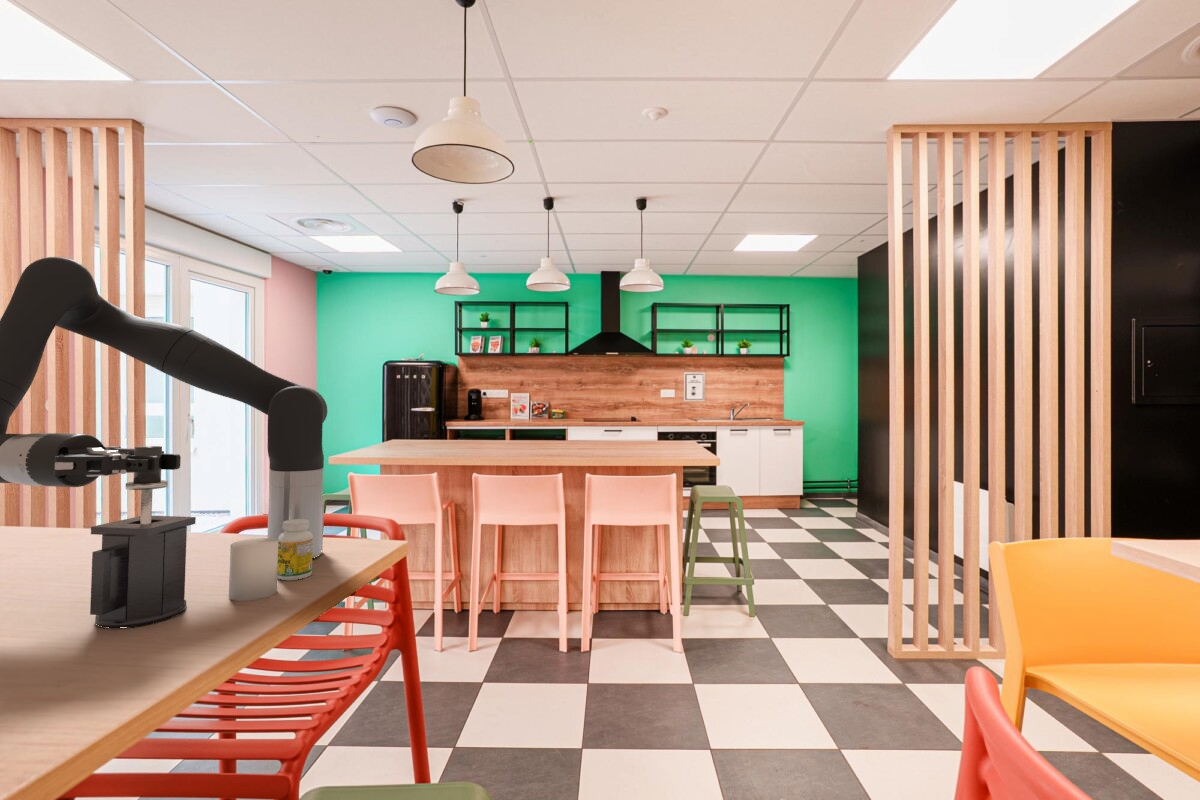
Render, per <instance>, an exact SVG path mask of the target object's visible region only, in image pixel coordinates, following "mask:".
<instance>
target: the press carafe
mask: <svg viewBox="0 0 1200 800" xmlns="http://www.w3.org/2000/svg"><path fill="white" fill-rule="evenodd" d="M140 518H141V515H139V516H133V517H129V518H125V519H121V520H115V521H112V522H111V521H110V522H105V523H103V524H98V525H93V526H90V535H101V549H98V550H95V551H92V554H91V555H92V559H91V578H90V579H91V580H90V581H91V583H90V607H89V612H90V613H89V615H90V616H95V617H94V619H95V620H94V621H95V623H96V624H97V625H99V626H102V627H109V628H120V627H132V628H136V627H135V626H139V627H143V626H148V624H149V625H153V623H154V624H157V623H158V624H159V623H160V622H164V621H167V620H171V619H173V618H175V617H177V616H179V615H181V614H183V613H184V612H185V611H186V609H187V600H186V599H185V594H186V589H185V588H186V563H187V538H188V535H187V534H188V533H187V532H188V526H193V525H196V520H197V518H196V516H180V515H178V516H176V515H175V516H172V515H152V518H151V523H150V524H140Z"/></svg>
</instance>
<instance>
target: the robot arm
mask: <svg viewBox="0 0 1200 800" xmlns="http://www.w3.org/2000/svg"><path fill="white" fill-rule="evenodd" d="M56 327H58V328H62V329H64V330H67V331H69V332H72V333H75V334H78V335H80V336H83V337H85V338H88V339H91V340H92V341H93V340H94V341H96V342H99V343H101V344H104V345H107V346H109V347H111V348H113V349H115V350H117V351H119V352H121V353H123V354H125V355H127V356H129V357H130V358H133V359H134V360H137V361H139V362H141V363H144V364H145V365H147V366H150V367H152V368H153V369H155V370H158V371H160V372H161V373H164V374H166V375H168V376H170V377H172V378H174V379H175V380H178V381H180V382H182V383H185V384H186V385H187V384H188V385H190V386H192V387H195V388H197V389H201V390H203V391H206V392H210V393H212V394H215V395H219V396H221V397H225V398H228V399H231V400H235V401H237V402H238V401H239V402H241V403H243V404H245V405H248V406H250V407H252V408H254V409H256V410H257V411H259V412H261V413H263V414H265V415H267V456H268V459H269V476H268V508H267V509H268V511H267V512H268V513H267V536H266V538H274V539H277V540H278V537H279V536H280V535H281V534H282V533H284V530H283V529H282V526H283V522H284V521H287V520H293V519H307V520H309V527H308V529H307V531H309V532H311V533H312V535H313V555H312V558H314V557H316V556H318V555H320V554H322V552H321V550H322V551H323V547H324V546H323V543H324V542H323V539H324V511H325V506H324V504H323V496H324V495H323V494H324V493H323V491H324V465H325V464H324V463H325V455H324V451H323V449H324V448H323V424H324V422H325V421H326V419H327V416H328V404H327V403H326V400H325V398H324V397H323V396H322V394H320V393H319V392H318V391H317V390H315V389H312V388H310V387H306V386H303V385H300V384H298V383H295V382H293V381H289V380H287V379H284V378H282V377H280V376H277V375H275V374H273V373H271V372H268V371H266V370H264V369H263V368H262V367H259V366H257V365H256V364H254V363H253V362H251V361H250V360H248V359H247V358H245V357H244V356H242V355H240V354H238V353H237V352H235V351H233V350H232V349H230V348H228V347H226V346H225V345H223V344H221V343H219V342H217V341H216V340H213V339H212V338H210V337H208V336H206V335H204V334H202V333H200V332H198V331H195V330H193V329H191V328H189V327H187V326H183V325H181V324H177V323H174V322H173V323H172V322H168V321H162V320H154V319H148V318H147V319H146V318H143V317H140V316H138V315H134V314H132V313H130V312H128V311H126V310H124V309H122V308H120V307H119V306H117V305H115V304H113V303H111V302H110V301H108V300H106V299H105V298H103V297H102V296H101V295H100V294H99V292H98V288H97V284H96V282H95V279H94V277H93V276H92V274H91V272H90V271H89V270H88V269H87V267H85V266H84V265H83V264H82V263H79V262H78V261H76V260H73V259H71V258H67V257H64V256H63V257H60V256H49V257H42V258H39V259H37V260H35V261H33V262H31V263H29V265H27V267H25V269H24V270H23V272H22V273H21V275H20V276H19V278H18V281H17V284H16V286H15V288H14V291H13V293H12V296H11V298H10V300H9V303H8V304H7V306H6V309H5V310H4V311H3V314H2V316H1V318H0V484H17V485H18V484H19V485H23V486H33V487H55V488H56V487H59V488H61V487H63V488H80V487H84V486H88V485H89V484H91V483H93V482H94V481H96V480H97V479H98V478H99V477H100V476H101V477H102V476H103V477H104V476H105V477H108V476H117V475H118V474H120V475H126V474H129V473H130V474H131V473H132V474H134V472H145V473H153V472H157V471H158V470H159V458H158V457H157V456H135V455H134V450H135V447H134V448H132V447H131V448H128V447H127V448H126V447H125V448H124V447H121V446H118V445H117V446H116V445H115V446H114V445H113V446H111V445H110V446H107V445H106V446H104V444H103V443H102V441H100V440H99V439H98V438H97V437H96V436H93V435H91V434H87V433H65V432H64V433H61V432H58V433H57V432H54V433H53V432H35V433H7V432H8V426H9V423H10V418H11V416H12V415H13V414H14V411H16V409H17V407H18V406H19V404H21V402H22V400H23V399H24V397H25V395H26V394H27V393H28V391H29V389H30V387H31V386H32V384H33V381H34V379H35V377H36V375H37V373H38V370H39V366H40V364H41V361H42V357H43V354H44V352H45V350H46V349H45V348H46V346H47V343H48V341H49V340H50V337H51V334H52V333H53V331H54V329H55V328H56ZM180 468H181V455H180V454H179V453H165V451H164V450H162V465H161V470H168V471H169V470H171V471H175V470H179V469H180ZM320 556H321V555H320ZM314 559H315V558H314Z"/></svg>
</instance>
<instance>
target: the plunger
mask: <svg viewBox="0 0 1200 800" xmlns="http://www.w3.org/2000/svg"><path fill="white" fill-rule="evenodd" d="M134 448H135V450H134V455H135V456H157V457H158V458H159V470H158V471H157V472H153V473H145V472H134V473H133V477H132V478H133V479H132V481H129V482H126V483H125V490H129V491H132V490H133V491H136V490H137V491H140V492H141V494H140V495H141V496H140V516H141V518H140V524H150V523H151V518H152V516H153V513H152V512H153V511H152V510H153V490H157V489H158V490H159V489H165V488H168V487H169V480H163V479H162V469H161V465H162V451H163V445H162V446H161V445H143V446H135V447H134Z"/></svg>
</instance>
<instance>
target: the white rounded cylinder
mask: <svg viewBox="0 0 1200 800" xmlns="http://www.w3.org/2000/svg"><path fill="white" fill-rule="evenodd" d="M229 553H230V554H229V577H228V578H229V580H228V581H229V583H228V585H229V586H228V599H230V600H231V601H237V602H248V601H255V600H261V599H265V598H268V597H271V596H273V595H275V594H276V593H277V592H278V578H277V570H278V540H277V539H274V538H267V537H255V538H248V539H241V540H237V541H235V542H234V541H233V542H232V543H231V544H230V551H229Z"/></svg>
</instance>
